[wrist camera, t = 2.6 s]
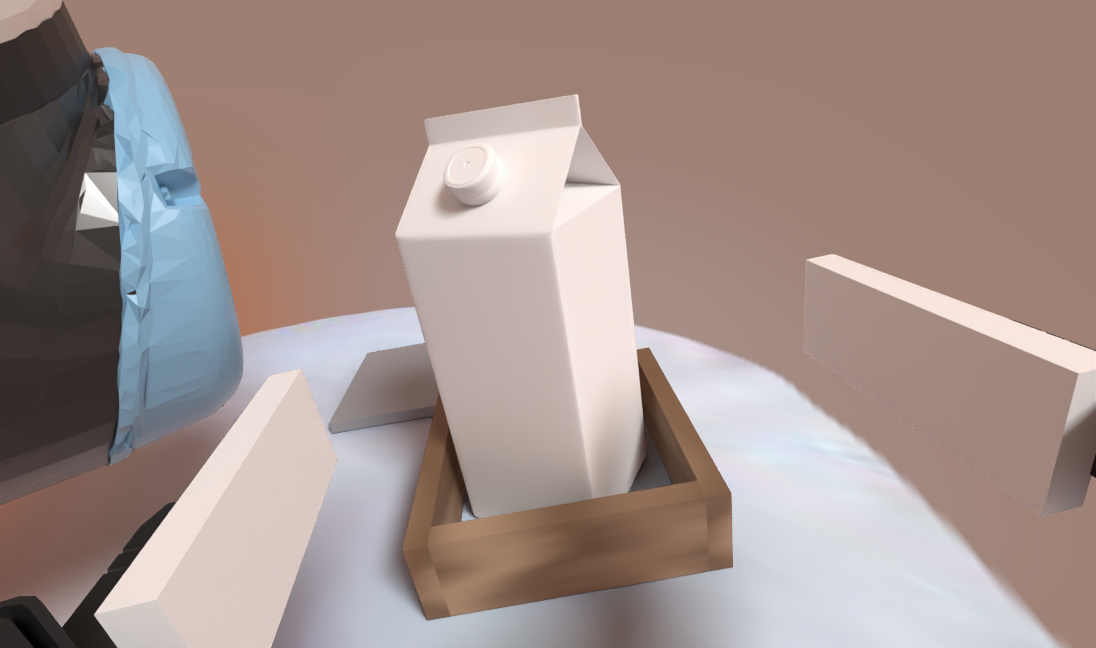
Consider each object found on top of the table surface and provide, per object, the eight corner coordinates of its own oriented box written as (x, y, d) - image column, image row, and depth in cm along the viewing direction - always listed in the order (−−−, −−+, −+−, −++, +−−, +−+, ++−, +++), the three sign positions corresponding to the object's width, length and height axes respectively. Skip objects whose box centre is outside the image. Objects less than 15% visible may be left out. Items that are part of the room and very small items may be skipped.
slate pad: (332, 433, 37) (328, 424, 36) (370, 360, 47) (367, 353, 46) (487, 406, 37) (485, 396, 36) (491, 339, 47) (490, 331, 46)
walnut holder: (427, 620, 22) (401, 550, 20) (455, 436, 34) (440, 383, 32) (732, 566, 22) (731, 493, 20) (653, 402, 34) (649, 347, 32)
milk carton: (536, 436, 33) (471, 110, 25) (648, 456, 29) (611, 87, 22) (473, 519, 27) (363, 131, 19) (602, 554, 24) (531, 104, 16)
